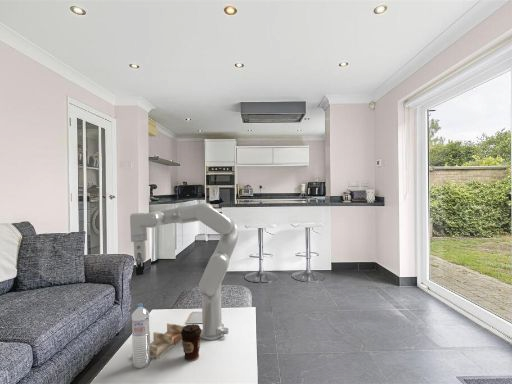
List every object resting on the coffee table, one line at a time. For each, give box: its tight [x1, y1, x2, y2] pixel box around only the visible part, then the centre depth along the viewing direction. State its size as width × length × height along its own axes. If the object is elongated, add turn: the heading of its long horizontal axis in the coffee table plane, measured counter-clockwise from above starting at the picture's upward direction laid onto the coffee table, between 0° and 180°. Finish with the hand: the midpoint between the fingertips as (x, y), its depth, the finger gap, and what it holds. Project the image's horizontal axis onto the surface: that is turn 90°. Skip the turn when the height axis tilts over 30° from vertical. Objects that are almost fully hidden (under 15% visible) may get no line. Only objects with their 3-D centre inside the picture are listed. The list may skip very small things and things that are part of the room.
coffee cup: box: [181, 323, 202, 362], centre depth 124 cm, size 9×8×13 cm
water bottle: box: [131, 302, 151, 369], centre depth 120 cm, size 7×7×25 cm
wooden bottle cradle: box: [150, 322, 185, 360], centre depth 134 cm, size 11×20×5 cm, turn 158°
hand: (140, 272), depth 142 cm, fingers open, 9 cm apart
